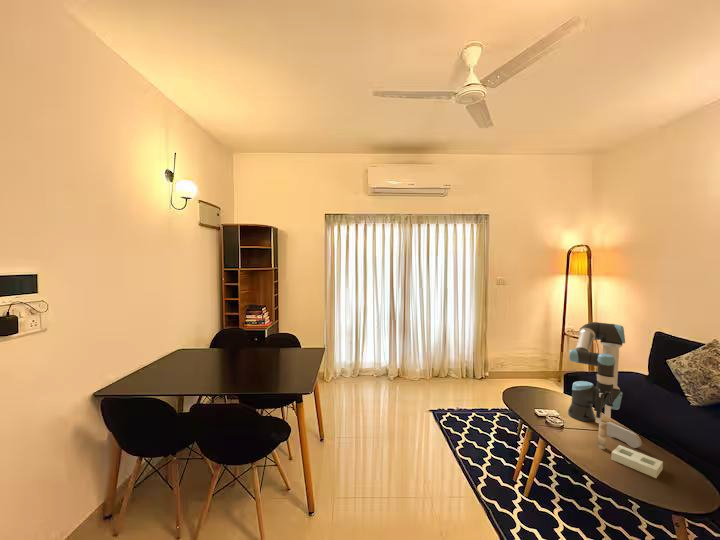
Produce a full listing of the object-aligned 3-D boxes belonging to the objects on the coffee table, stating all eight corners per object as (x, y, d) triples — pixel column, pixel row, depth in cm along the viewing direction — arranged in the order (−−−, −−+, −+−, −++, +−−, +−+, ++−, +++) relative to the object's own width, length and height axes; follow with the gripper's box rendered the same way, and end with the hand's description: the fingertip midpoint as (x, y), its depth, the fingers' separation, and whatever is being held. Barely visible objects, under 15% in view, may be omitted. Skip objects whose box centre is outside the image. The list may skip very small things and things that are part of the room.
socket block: (618, 452, 180) (619, 444, 180) (662, 469, 166) (662, 461, 166) (611, 459, 173) (611, 452, 173) (656, 478, 159) (656, 470, 159)
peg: (599, 445, 187) (600, 421, 186) (606, 448, 184) (608, 423, 183) (596, 447, 184) (598, 422, 184) (604, 450, 182) (605, 425, 181)
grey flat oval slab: (641, 450, 183) (642, 435, 183) (639, 451, 182) (639, 436, 182) (605, 432, 201) (605, 419, 201) (602, 433, 200) (603, 419, 200)
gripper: (605, 376, 193) (603, 411, 194) (588, 384, 179) (586, 423, 179) (620, 380, 187) (618, 417, 188) (604, 389, 172) (602, 429, 173)
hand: (603, 420), depth 183 cm, fingers open, 13 cm apart
